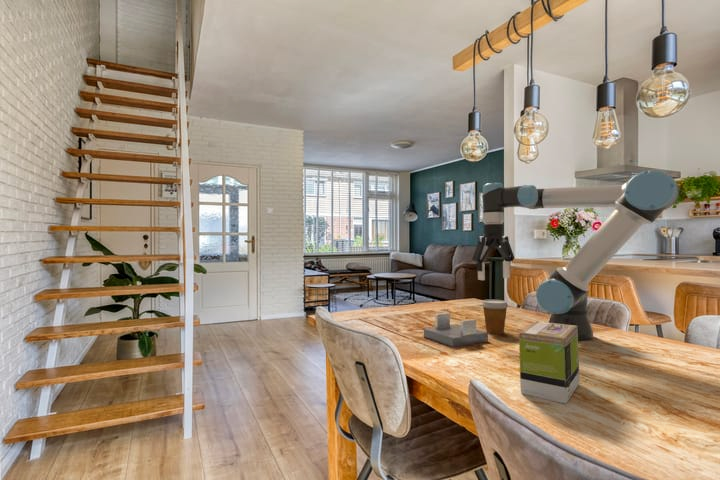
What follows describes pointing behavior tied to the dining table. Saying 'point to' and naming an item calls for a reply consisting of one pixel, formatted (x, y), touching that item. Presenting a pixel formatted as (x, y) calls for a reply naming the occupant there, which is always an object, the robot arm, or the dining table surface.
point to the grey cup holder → (455, 332)
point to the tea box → (549, 361)
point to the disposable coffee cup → (495, 315)
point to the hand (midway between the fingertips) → (494, 279)
